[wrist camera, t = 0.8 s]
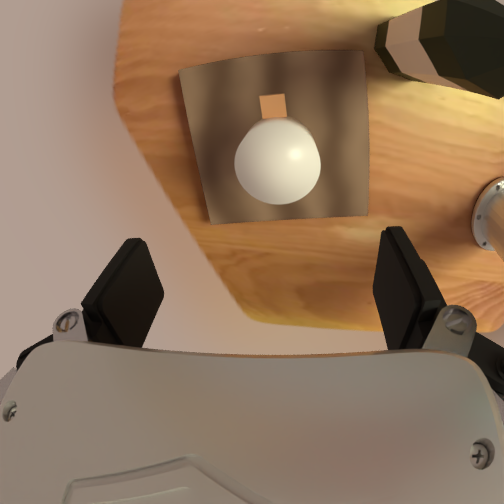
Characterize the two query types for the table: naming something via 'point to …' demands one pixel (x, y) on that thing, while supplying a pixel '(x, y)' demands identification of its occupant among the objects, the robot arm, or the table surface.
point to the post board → (297, 106)
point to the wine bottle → (448, 45)
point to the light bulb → (277, 156)
